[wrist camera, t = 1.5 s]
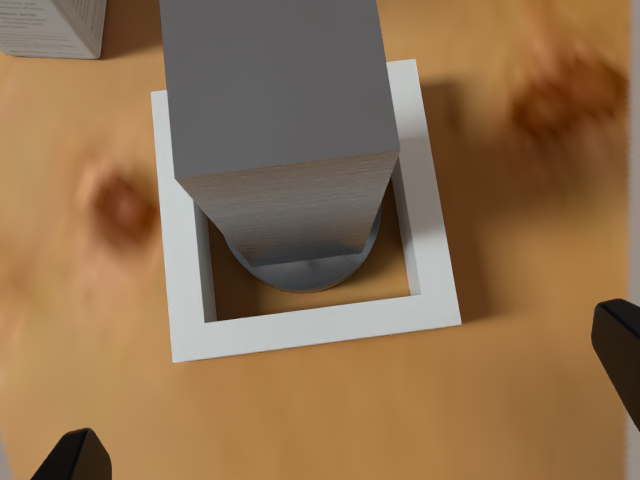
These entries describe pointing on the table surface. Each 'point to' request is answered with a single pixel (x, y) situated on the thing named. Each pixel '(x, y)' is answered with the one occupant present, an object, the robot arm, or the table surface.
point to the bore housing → (321, 323)
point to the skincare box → (52, 28)
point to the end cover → (283, 130)
